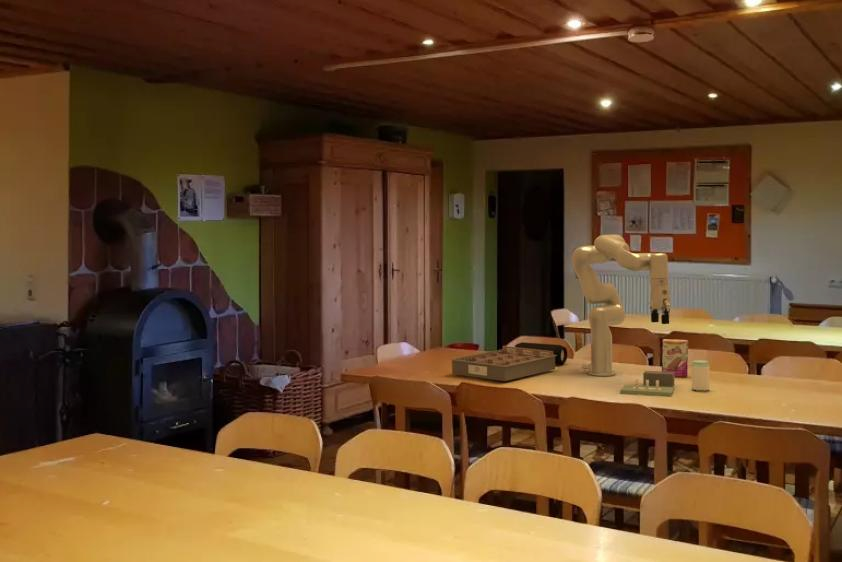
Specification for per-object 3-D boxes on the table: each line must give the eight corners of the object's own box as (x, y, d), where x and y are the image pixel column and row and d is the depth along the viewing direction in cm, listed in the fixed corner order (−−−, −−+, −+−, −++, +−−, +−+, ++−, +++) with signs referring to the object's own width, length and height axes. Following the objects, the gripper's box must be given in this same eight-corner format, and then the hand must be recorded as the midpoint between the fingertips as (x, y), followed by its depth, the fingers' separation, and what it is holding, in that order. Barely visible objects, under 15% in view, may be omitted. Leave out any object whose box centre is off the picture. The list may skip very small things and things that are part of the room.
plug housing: (643, 387, 362) (643, 373, 361) (645, 384, 367) (645, 370, 367) (672, 388, 357) (672, 374, 357) (674, 386, 363) (674, 372, 362)
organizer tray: (449, 376, 394) (449, 355, 394) (503, 365, 423) (503, 345, 423) (505, 384, 373) (504, 362, 372) (557, 372, 402) (557, 351, 401)
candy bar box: (661, 376, 384) (661, 340, 383) (662, 374, 389) (662, 339, 388) (687, 377, 380) (687, 341, 379) (688, 375, 385) (688, 339, 384)
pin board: (620, 393, 348) (620, 381, 348) (624, 388, 360) (624, 376, 359) (671, 396, 341) (671, 384, 341) (674, 390, 352) (674, 378, 352)
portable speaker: (512, 363, 429) (512, 343, 428) (521, 360, 437) (521, 340, 437) (560, 366, 415) (559, 346, 414) (568, 363, 423) (568, 343, 423)
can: (712, 391, 350) (712, 362, 349) (695, 391, 349) (695, 362, 348) (705, 388, 357) (705, 359, 356) (688, 388, 356) (688, 360, 355)
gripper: (676, 282, 353) (678, 324, 353) (658, 281, 370) (659, 321, 370) (659, 283, 351) (661, 325, 352) (641, 282, 368) (642, 322, 369)
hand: (660, 323), depth 361 cm, fingers open, 9 cm apart
